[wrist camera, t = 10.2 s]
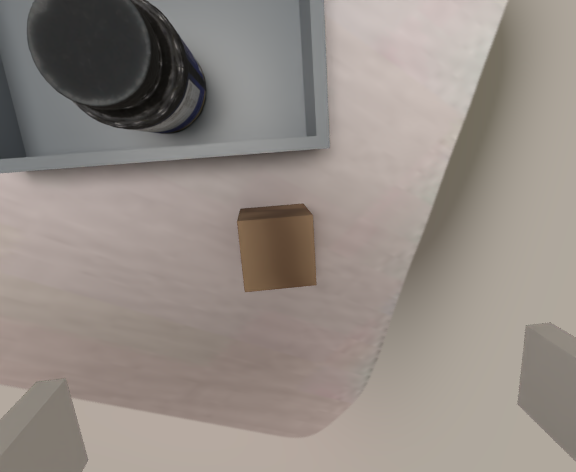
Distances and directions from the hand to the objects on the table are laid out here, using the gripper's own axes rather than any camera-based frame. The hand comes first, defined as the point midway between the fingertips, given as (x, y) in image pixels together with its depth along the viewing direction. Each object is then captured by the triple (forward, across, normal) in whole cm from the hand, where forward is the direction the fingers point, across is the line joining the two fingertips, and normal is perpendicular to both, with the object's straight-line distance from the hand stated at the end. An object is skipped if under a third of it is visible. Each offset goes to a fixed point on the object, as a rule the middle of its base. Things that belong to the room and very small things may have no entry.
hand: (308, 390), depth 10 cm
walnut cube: (+19, 0, 0) cm, 19 cm away
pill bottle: (+18, -7, +11) cm, 23 cm away
